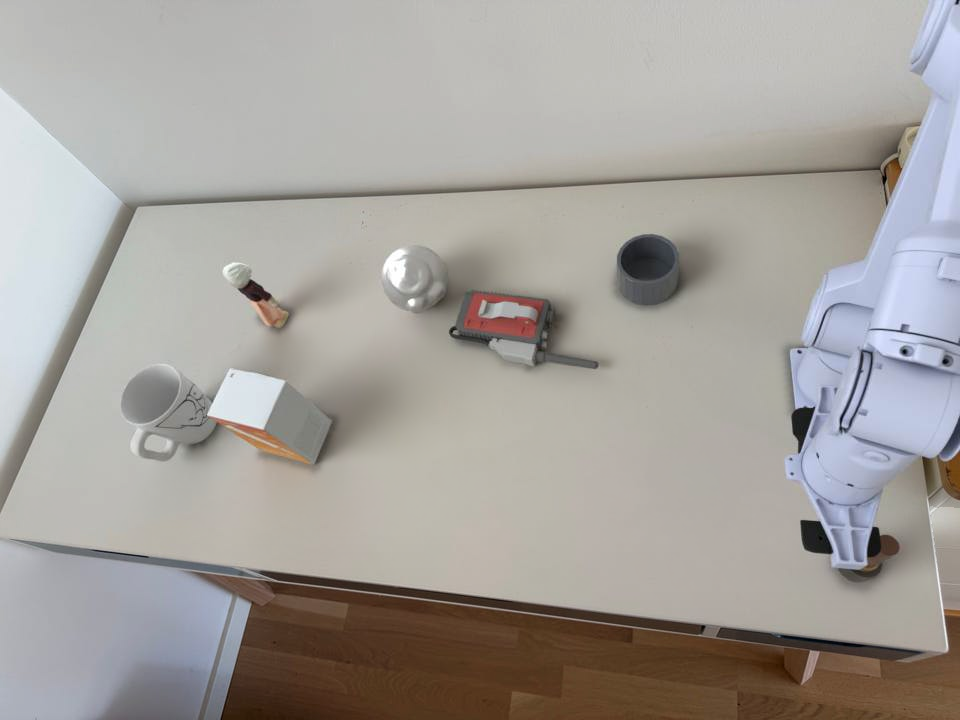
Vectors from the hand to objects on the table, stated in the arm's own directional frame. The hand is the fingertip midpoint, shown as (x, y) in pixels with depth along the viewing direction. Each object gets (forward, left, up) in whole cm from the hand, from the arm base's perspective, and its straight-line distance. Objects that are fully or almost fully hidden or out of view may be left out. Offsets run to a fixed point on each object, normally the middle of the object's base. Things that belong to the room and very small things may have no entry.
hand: (814, 500), depth 59 cm
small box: (+59, -7, -10) cm, 60 cm away
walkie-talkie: (+30, -22, -10) cm, 38 cm away
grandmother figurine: (+67, -25, -10) cm, 72 cm away
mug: (+75, -7, -10) cm, 76 cm away
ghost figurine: (+45, -28, -10) cm, 54 cm away
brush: (-5, +4, -10) cm, 12 cm away
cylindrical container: (+15, -30, -10) cm, 35 cm away
